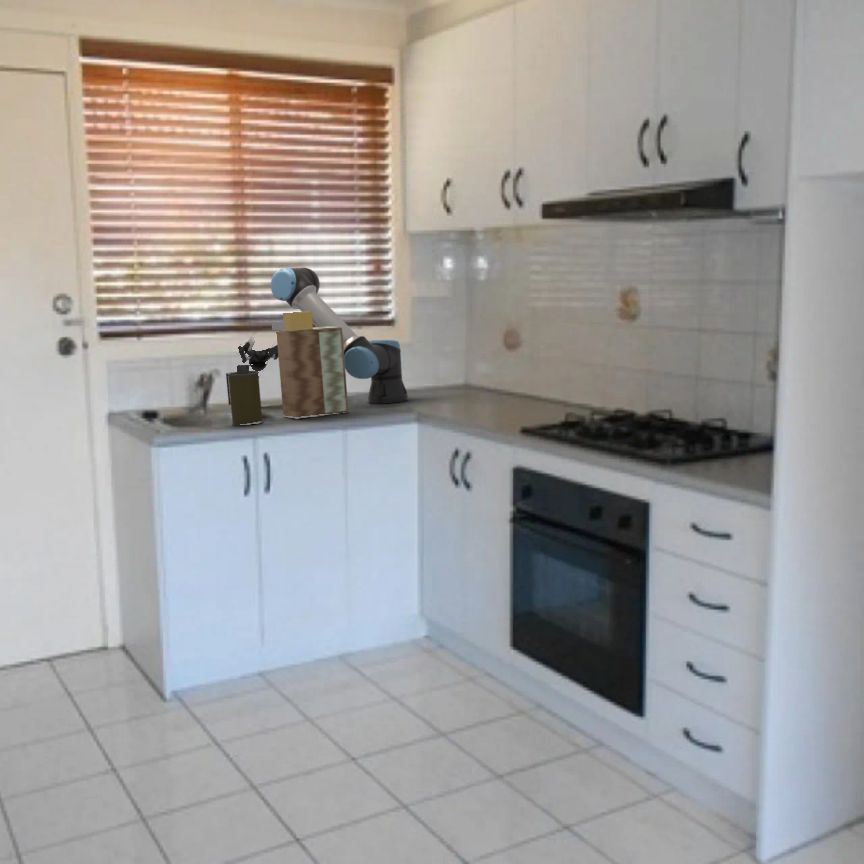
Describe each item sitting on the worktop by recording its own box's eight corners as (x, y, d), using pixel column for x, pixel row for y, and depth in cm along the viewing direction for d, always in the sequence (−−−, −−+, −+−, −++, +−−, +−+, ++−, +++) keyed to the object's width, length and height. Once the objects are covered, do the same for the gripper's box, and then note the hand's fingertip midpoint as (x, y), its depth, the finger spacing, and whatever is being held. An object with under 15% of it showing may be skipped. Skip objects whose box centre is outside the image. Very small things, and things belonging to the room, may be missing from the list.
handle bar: (285, 328, 367) (284, 311, 367) (312, 329, 347) (311, 311, 346) (265, 330, 363) (263, 313, 363) (291, 331, 343) (289, 313, 342)
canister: (266, 420, 350) (261, 362, 347) (258, 425, 340) (253, 365, 337) (235, 422, 351) (230, 364, 348) (227, 426, 341) (221, 367, 338)
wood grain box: (335, 410, 366) (328, 326, 362) (348, 413, 357) (342, 326, 352) (283, 417, 356) (276, 330, 352) (296, 420, 347) (288, 331, 342)
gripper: (288, 369, 392) (305, 343, 375) (226, 376, 380) (240, 349, 363) (283, 352, 394) (299, 325, 377) (221, 358, 382) (235, 331, 365)
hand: (270, 337), depth 370 cm, fingers open, 13 cm apart
